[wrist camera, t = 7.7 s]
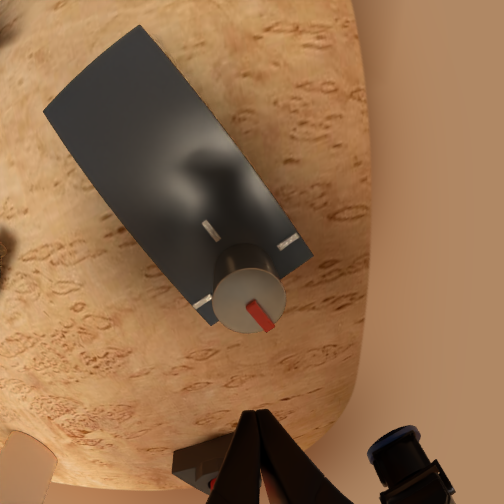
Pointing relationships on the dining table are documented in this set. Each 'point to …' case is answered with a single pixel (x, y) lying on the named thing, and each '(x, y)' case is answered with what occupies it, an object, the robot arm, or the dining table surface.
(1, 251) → the skeletal hand
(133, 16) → the dining table surface
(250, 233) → the panel
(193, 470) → the power button base
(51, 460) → the cup
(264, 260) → the dial
